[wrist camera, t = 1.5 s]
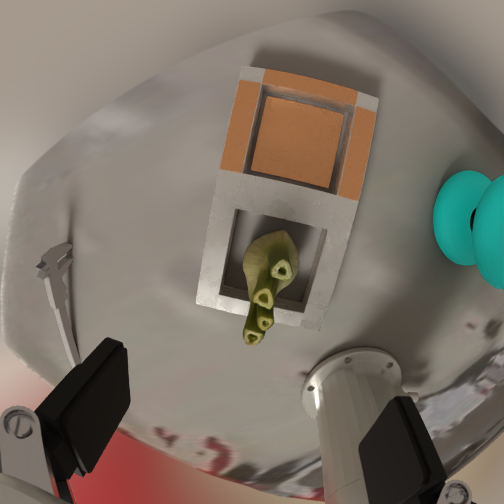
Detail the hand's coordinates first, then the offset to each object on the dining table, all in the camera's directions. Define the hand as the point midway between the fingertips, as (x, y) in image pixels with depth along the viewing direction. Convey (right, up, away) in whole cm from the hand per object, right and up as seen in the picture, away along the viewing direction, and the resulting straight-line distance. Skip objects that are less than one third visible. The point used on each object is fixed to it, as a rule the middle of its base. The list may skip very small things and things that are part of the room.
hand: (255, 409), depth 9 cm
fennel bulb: (+2, +5, +19) cm, 20 cm away
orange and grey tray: (+3, +10, +17) cm, 20 cm away
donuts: (+23, +9, +16) cm, 29 cm away
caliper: (-24, -3, +24) cm, 34 cm away
